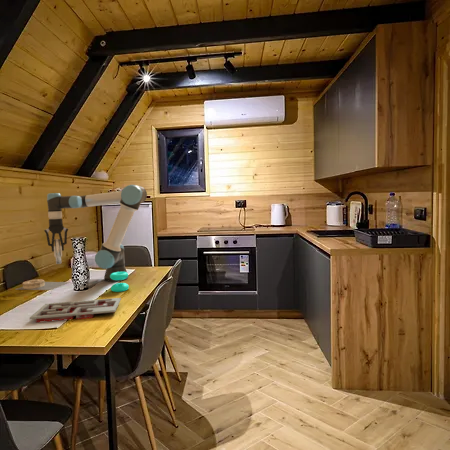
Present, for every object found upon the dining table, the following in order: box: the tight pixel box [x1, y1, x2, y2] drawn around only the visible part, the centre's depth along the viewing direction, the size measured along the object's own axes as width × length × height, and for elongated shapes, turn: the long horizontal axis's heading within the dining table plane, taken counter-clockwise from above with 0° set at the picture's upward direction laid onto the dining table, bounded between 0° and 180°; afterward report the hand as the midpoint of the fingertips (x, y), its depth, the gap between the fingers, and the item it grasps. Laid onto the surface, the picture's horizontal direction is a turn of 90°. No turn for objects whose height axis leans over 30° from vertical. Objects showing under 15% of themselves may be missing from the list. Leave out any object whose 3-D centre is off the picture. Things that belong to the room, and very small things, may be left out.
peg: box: [54, 238, 62, 265], centre depth 209 cm, size 3×3×15 cm
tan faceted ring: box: [22, 278, 45, 289], centre depth 205 cm, size 11×11×3 cm
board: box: [14, 281, 71, 291], centre depth 206 cm, size 24×18×2 cm
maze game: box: [29, 297, 122, 323], centre depth 157 cm, size 35×20×3 cm, turn 99°
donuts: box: [110, 271, 130, 293], centre depth 195 cm, size 10×10×10 cm
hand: (58, 256), depth 209 cm, fingers closed on peg, 3 cm apart
